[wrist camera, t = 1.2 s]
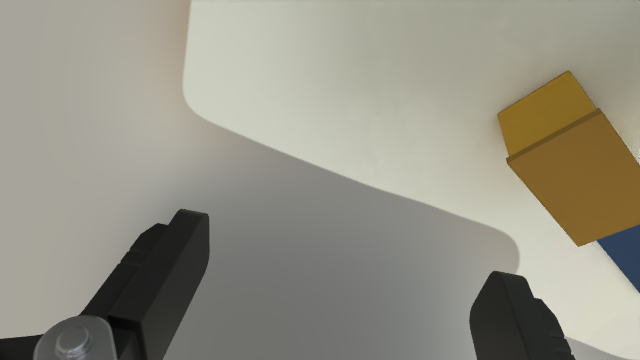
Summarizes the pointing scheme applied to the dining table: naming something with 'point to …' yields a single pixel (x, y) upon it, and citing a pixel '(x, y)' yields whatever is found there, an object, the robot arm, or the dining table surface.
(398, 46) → the dining table surface
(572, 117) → the container
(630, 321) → the dining table surface
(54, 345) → the robot arm
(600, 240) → the cloth
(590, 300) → the dining table surface
